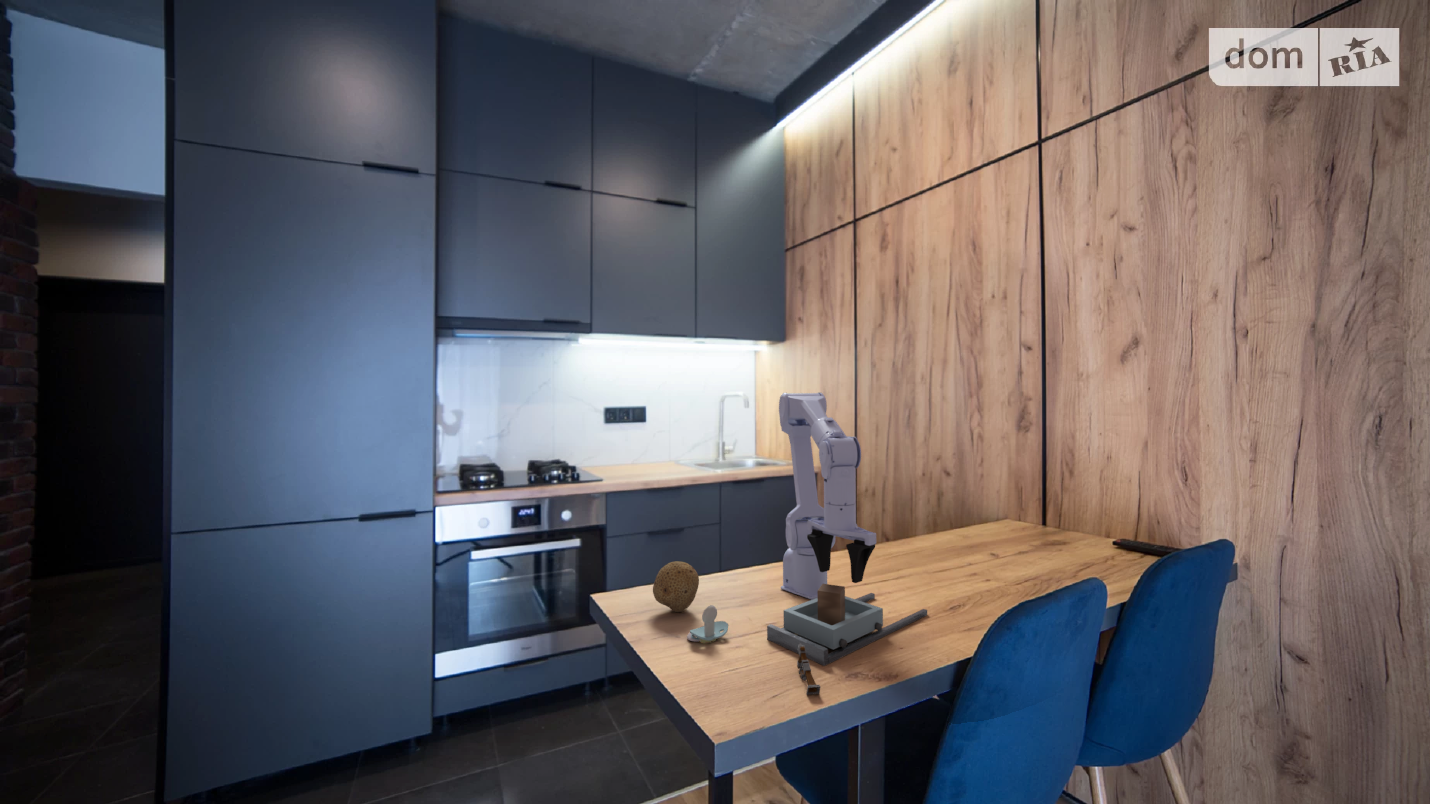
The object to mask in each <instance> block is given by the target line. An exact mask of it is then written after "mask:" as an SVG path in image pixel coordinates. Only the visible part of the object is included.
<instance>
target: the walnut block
mask: <svg viewBox="0 0 1430 804" xmlns="http://www.w3.org/2000/svg"><path fill="white" fill-rule="evenodd" d="M845 588H846V586H843V585H836V584H828V583H827V584H822V585H821V587H820V588H819V589H818V620H819V621H821V622H824V623H827V624H829V625H835V624H837V623H839V622H842V621H844V620H845V596H846V589H845Z"/></svg>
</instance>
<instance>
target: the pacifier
mask: <svg viewBox="0 0 1430 804" xmlns="http://www.w3.org/2000/svg"><path fill="white" fill-rule="evenodd" d="M717 616H718V610H717V608H716V605H711V604H709V605H708V606H706V608H705V609H704V610H703V612H702V616H701V620H702V622H703V623H704V624H703V625H702V626H701V627H697V628H694V629H693V628H692V629H690V630H689V633H688V634H687V636H686V639H687V640H688V641H691V642H695V643H696V642H699V641H700V642H703V643H702V644H706V643H705V642H710V643H712V642H711V641H713V642H715V641H717V640H718V639H719V638H722V637H724V636H725V635H726V634H727V633H728V631H729V624H728V622H726V621H724V620H720V621H715V620H716V619H717ZM716 639H717V640H716ZM700 642H699V643H700Z"/></svg>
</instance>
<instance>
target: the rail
mask: <svg viewBox="0 0 1430 804" xmlns="http://www.w3.org/2000/svg"><path fill="white" fill-rule="evenodd" d="M875 595H876V594H875V593H874V592H870V593H867V594H864V595H862V596H860V597H857V598H855V599H856V600H859V601H862V602H865V603H868V602H869V600H870V601H872V600H874V599H875V598H876V597H875ZM926 616H928V609H926V608H922V609H920V610H918V611H916V612H914V613H912V614H910V615H907V616H905V617H904V618H901V619H899V620H897V621H895V622H893V623H891V624H888V625H887V626H885V627H884V626H883V627H882V629H881V631H878V630H875V631H872V632H870V633H868V634H866V635H864V636H862V638H861V637H860V638H858V639H856V640H854V641H851V642H849V644H848V643H847V646H846V647H845V648H843V647H839V648H837V649H835V650H834V651H831V652H829V648H828V647H826V646H824V645H821V644H819V643H817V642H814V641H812V640H810V639H807V638H805V637H803V636H801V635H798V634H796V633H794V632H791V631H789V630H787V629H784V626H783V627H779V626H776V625H774V624H768V625H767V626H766V627H767V628H766V636H767V637H766V639H767V640H768V641H770V642H772V643H774V644H776V645H779V646H781V647H783V648H784V649H787V650H788V651H791V652H793V653H795V654H798V655H799V651H798V645H799V644H802V645H805V650H806V657H807V660H808V659H809V660H811V661H813V662H815V663H817V664H819V665H821V666H822V667H825V666H827V665H829V664H831V663H833V662H835V661H837V660H840V659H842V658H843V657H846V656H848V655H849V654H851V653H853V652H856V651H858V650H860V649H861V648H864V647H865V646H868V645H870V644H872V643H874V642H875V641H878V640H880V639H882V638H884V637H886V636H888V635H890V634H892V633H894V632H896V631H898V630H900V629H902V628H905V627H906V626H908V625H910V624H913V623H914V622H917V621H918V620H921V619H922V618H925V617H926Z"/></svg>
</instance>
